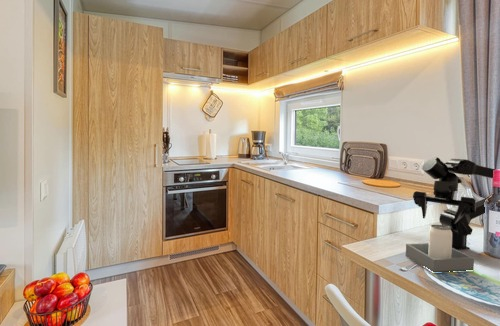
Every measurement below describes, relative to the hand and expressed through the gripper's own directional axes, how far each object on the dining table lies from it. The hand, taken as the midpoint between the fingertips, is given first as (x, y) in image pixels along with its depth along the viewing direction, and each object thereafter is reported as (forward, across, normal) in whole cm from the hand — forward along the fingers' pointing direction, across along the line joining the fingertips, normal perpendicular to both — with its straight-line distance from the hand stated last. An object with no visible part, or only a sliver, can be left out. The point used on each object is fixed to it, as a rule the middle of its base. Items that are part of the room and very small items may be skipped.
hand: (438, 220), depth 98 cm
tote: (+14, +1, +6) cm, 15 cm away
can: (+13, +2, +5) cm, 14 cm away
